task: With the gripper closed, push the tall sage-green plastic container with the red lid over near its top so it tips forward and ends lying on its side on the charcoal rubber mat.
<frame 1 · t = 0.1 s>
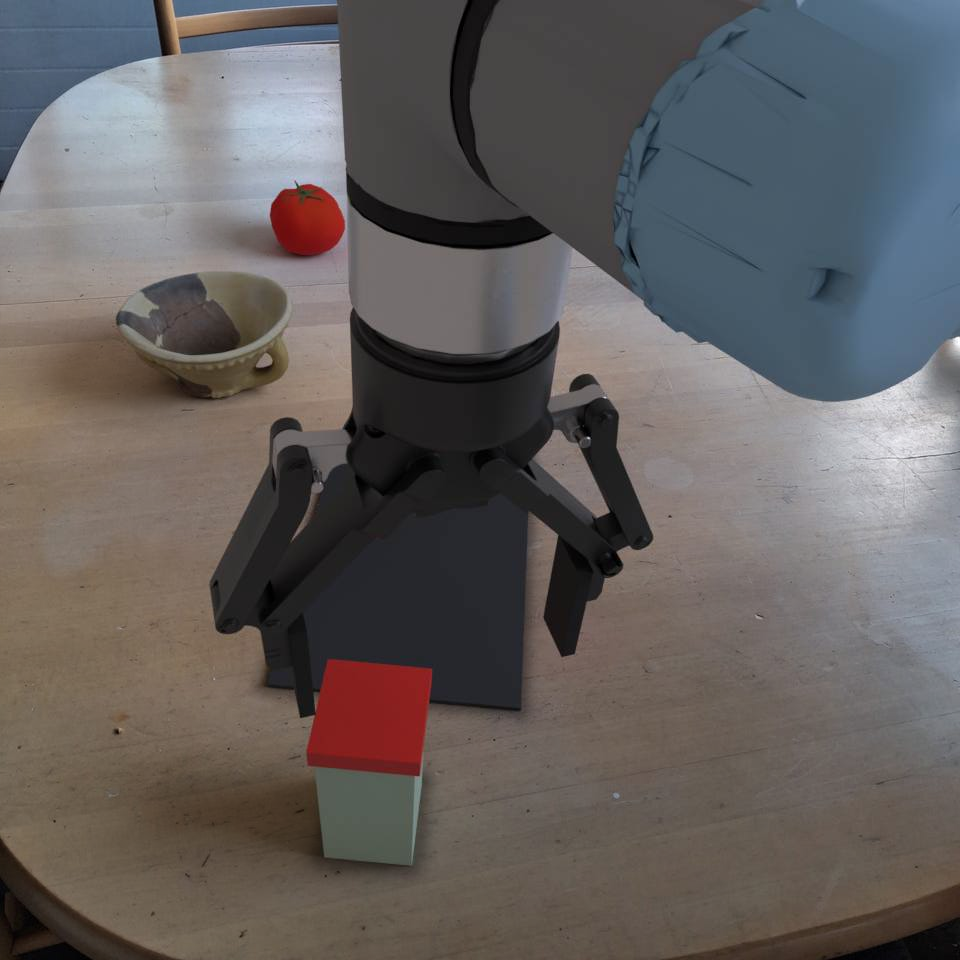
hand: (435, 664, 46), 23 cm above the table, tool pointing down, fingers open, 13 cm apart
tomato: (309, 249, 122), on the table
bowl: (217, 382, 99), on the table
mat: (416, 558, 82), on the table
container: (374, 820, 64), on the table
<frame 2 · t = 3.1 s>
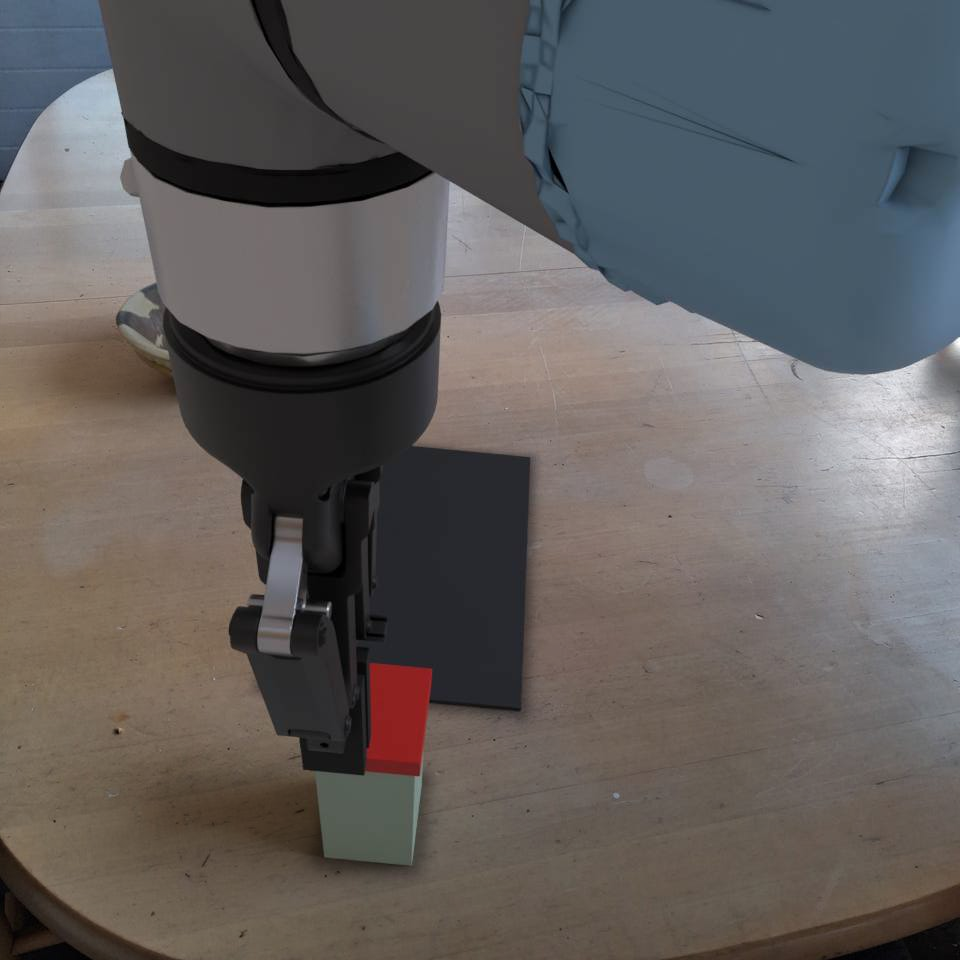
hand: (338, 751, 40), 24 cm above the table, tool pointing down, fingers closed
nothing on the table moved.
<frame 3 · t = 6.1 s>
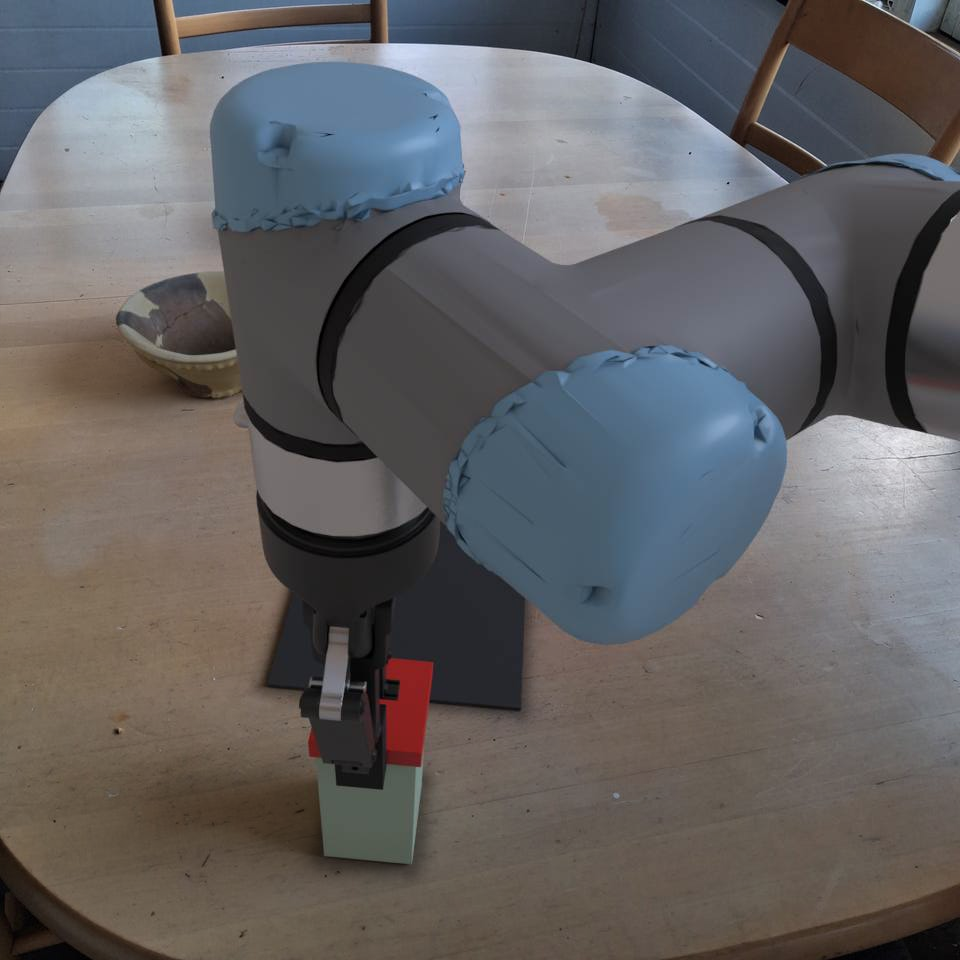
hand: (361, 775, 53), 12 cm above the table, tool pointing down, fingers closed
container: (374, 819, 64), on the table, touching gripper
everything else where it was.
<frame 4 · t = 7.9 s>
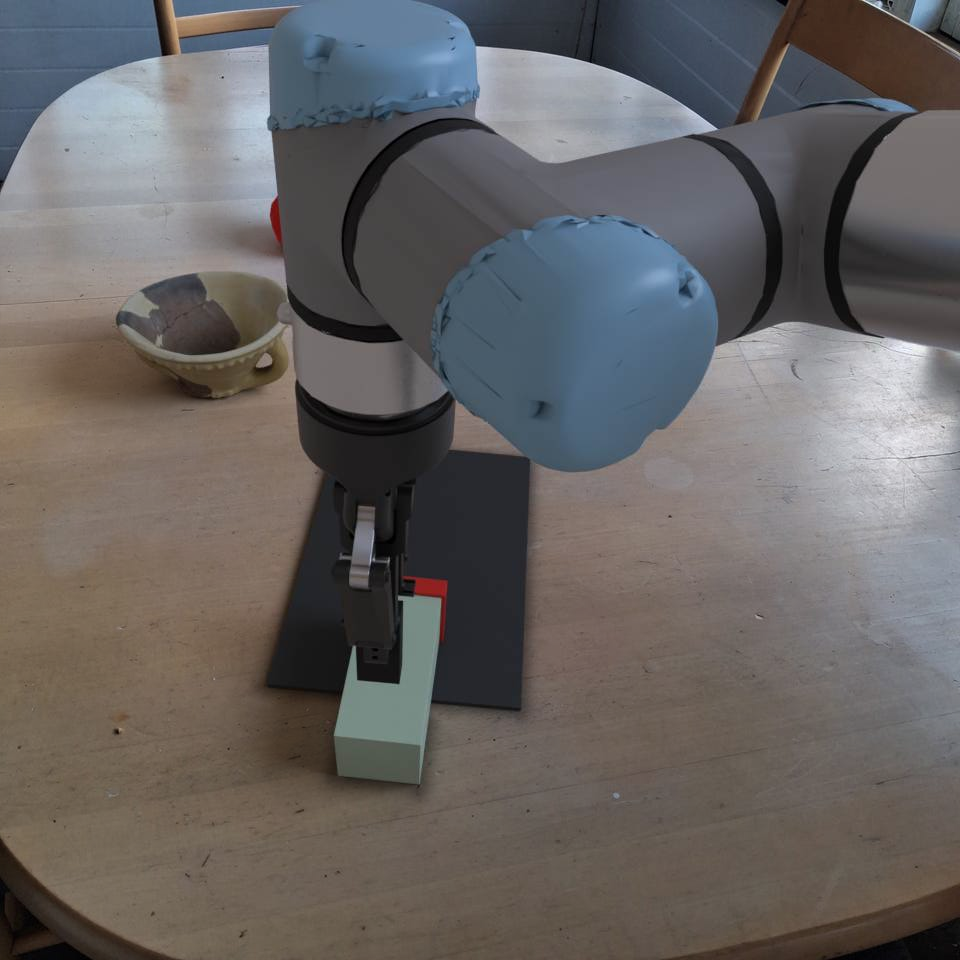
hand: (379, 672, 58), 13 cm above the table, tool pointing down, fingers closed
container: (377, 761, 64), point 3 cm above the table, tilted 87°, touching mat
everything else where it was.
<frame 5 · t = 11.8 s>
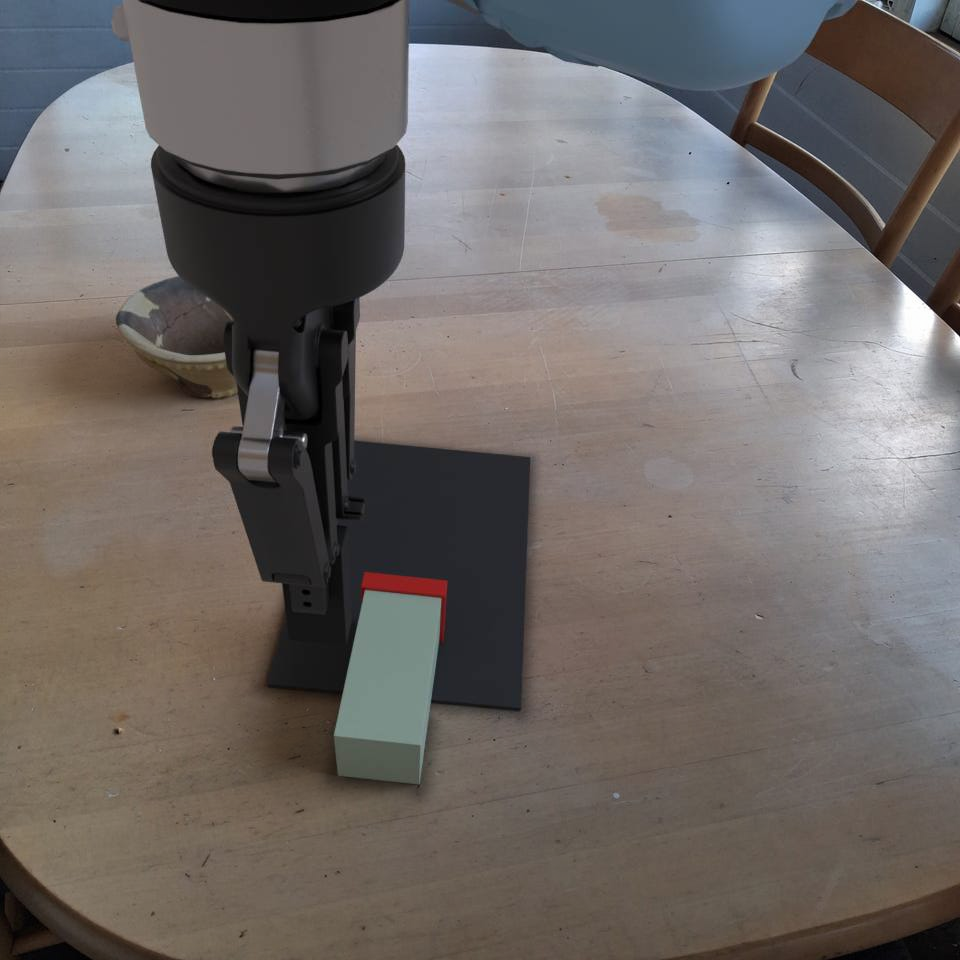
hand: (320, 629, 43), 26 cm above the table, tool pointing down, fingers closed
nothing on the table moved.
at the end: container tilted 87°; container touching mat, table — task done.
